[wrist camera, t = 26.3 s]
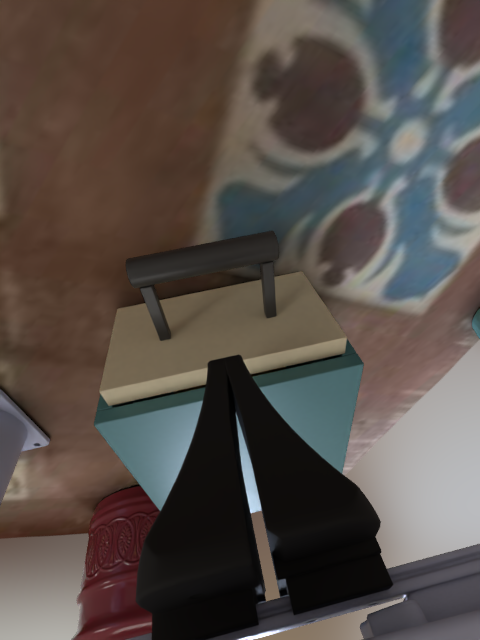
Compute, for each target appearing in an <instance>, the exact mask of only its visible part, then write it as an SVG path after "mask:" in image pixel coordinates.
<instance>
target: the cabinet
mask: <svg viewBox="0 0 480 640" xmlns="http://www.w3.org/2000/svg"><path fill="white" fill-rule="evenodd" d="M322 359H323V361H320V362H316V363H311V364H307V365H302V366H298V367H293V368H289V369H284V370H280V371H275V372H271V373H266V374H262V375H258V376H253V377H252V378H253V379H254V381H255V382H256V384H257V385H258V387H259V388H260V390H261V391H262V393H263V394H264V395H265V397H266V398H267V399H268V401H269V402H270V403H271V405H272V406H273V407H274V408H275V410H276V411H277V412H278V413H279V414H280V416H281V417H282V418H283V419H284V420H285V421H286V422H287V423H288V424H289V426H290V427H291V428H292V429H293V430H294V431H295V432H296V433H297V434H298V435H299V436H300V437H301V438H302V439H303V440H304V441H305V442H306V443H307V444H308V445H309V446H310V447H312V448H313V449H314V450H315V451H316V452H317V453H318V454H319V455H320V456H321V457H322V458H324V459H325V460H326V461H327V462H328V463H329V464H331V465H332V466H333V467H334V468H335V469H337V470H338V471H339V472H340V473H342V472H343V467H344V462H345V457H346V451H347V446H348V441H349V436H350V431H351V426H352V421H353V416H354V411H355V406H356V401H357V396H358V391H359V386H360V381H361V376H362V371H363V366H364V363H363V362H362V360H361V359H360V357H359V356H358V354H356V351H355V350H354V348H353V347H352V345H351V344H350V343H349V341H348V340H347V341H346V348H345V353H344V354H340V355H335V356H331V357H326V358H322ZM204 393H205V387H204V388H199V389H195V390H190V391H186V392H181V393H177V394H173V395H168V396H164V397H159V398H155V399H150V400H146V401H141V402H137V403H134V401H129V402H125V403H120V404H116V405H111V406H108V404H107V403H106V401H105V400H104V398H103V397H102V395H101V394H100V398H99V403H98V407H97V412H96V417H95V421H94V426H95V427H96V428H97V430H98V431H99V432H100V434H101V435H102V436H103V437H104V439H105V440H106V441H107V443H108V444H109V445H110V447H111V448H112V449H113V450H114V452H115V453H116V454H117V456H118V457H119V458H120V460H121V461H122V462H123V464H124V465H125V466H126V467H127V469H128V470H129V471H130V473H131V474H132V475H133V477H134V478H135V479H136V480H137V482H138V483H139V484H140V486H141V487H142V488H143V490H144V491H145V492H146V493H147V495H148V496H149V497H150V499H151V500H152V501H153V503H154V504H155V505H156V506H157V508H158V509H159V510H160V511H161V509H162V507H163V505H164V503H165V501H166V499H167V497H168V495H169V493H170V491H171V489H172V487H173V485H174V483H175V480H176V478H177V476H178V474H179V472H180V469H181V467H182V464H183V462H184V459H185V457H186V454H187V452H188V449H189V446H190V444H191V441H192V438H193V435H194V432H195V429H196V425H197V422H198V418H199V414H200V411H201V407H202V402H203V397H204ZM236 418H237V427H238V437H239V446H240V456H241V464H242V471H243V477H244V482H245V487H246V493H247V498H248V503H249V508H250V513H253V512H257V511H261V510H262V509H261V504H260V500H259V495H258V490H257V486H256V481H255V476H254V472H253V468H252V464H251V460H250V457H249V453H248V450H247V447H246V443H245V440H244V437H243V434H242V430H241V427H240V424H239V420H238V417H237V414H236Z"/></svg>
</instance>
